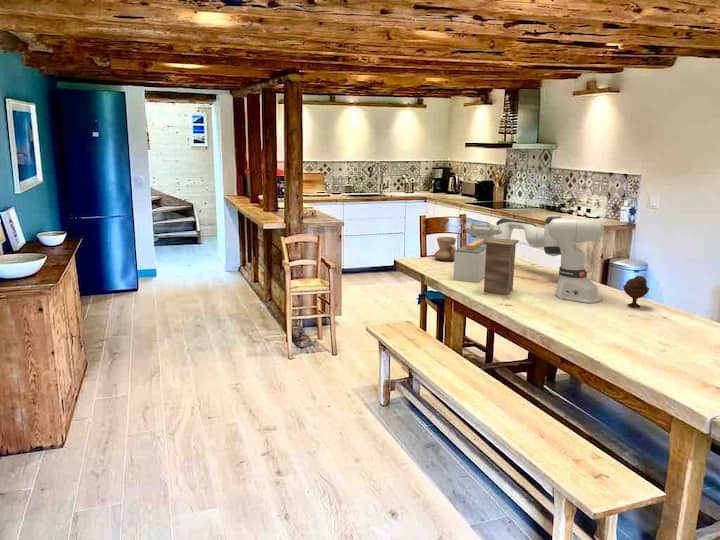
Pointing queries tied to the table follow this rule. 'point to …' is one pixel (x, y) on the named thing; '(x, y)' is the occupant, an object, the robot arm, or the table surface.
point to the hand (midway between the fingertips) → (480, 223)
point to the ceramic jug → (446, 248)
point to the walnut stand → (499, 265)
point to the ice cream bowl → (636, 289)
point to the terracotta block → (475, 244)
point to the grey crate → (469, 264)
